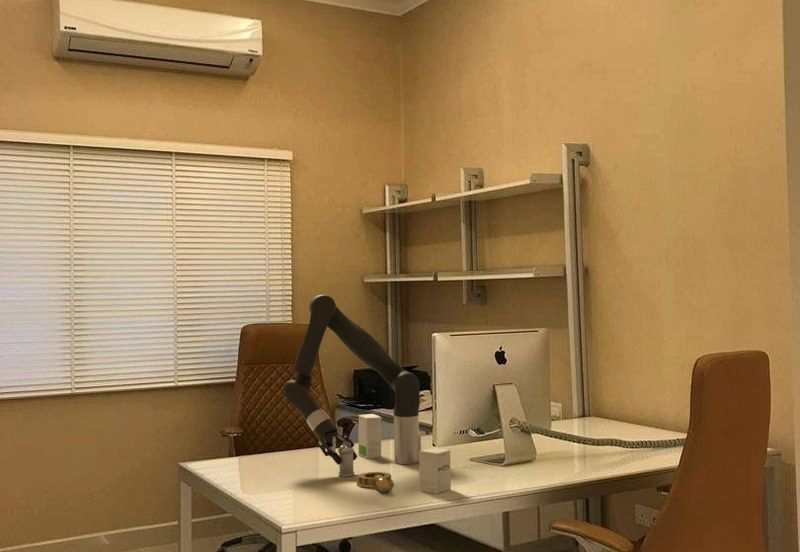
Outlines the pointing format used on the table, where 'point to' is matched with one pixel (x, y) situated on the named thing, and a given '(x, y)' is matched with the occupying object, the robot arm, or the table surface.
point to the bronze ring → (376, 481)
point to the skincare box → (370, 435)
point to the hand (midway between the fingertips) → (348, 460)
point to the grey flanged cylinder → (346, 462)
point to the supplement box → (434, 470)
